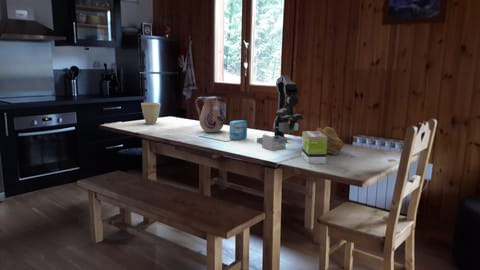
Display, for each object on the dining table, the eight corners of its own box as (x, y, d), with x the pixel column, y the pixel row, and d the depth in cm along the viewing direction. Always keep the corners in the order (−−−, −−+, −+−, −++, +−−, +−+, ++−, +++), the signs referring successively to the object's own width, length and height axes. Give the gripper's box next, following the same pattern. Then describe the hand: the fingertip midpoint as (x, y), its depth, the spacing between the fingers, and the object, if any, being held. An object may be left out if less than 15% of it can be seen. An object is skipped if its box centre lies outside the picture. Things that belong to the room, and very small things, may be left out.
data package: (233, 140, 251) (234, 122, 249) (229, 139, 254) (229, 121, 252) (246, 138, 259) (247, 120, 257) (242, 137, 262) (242, 119, 260)
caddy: (294, 129, 242) (294, 121, 242) (299, 130, 239) (299, 122, 238) (278, 130, 235) (278, 122, 234) (283, 132, 232) (283, 124, 231)
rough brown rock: (334, 160, 210) (339, 134, 207) (306, 153, 219) (310, 128, 216) (347, 153, 230) (351, 129, 227) (321, 147, 238) (325, 124, 235)
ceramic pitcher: (222, 134, 270) (223, 98, 265) (193, 133, 271) (193, 97, 266) (224, 129, 287) (225, 96, 283) (196, 128, 288) (196, 95, 283)
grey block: (276, 145, 239) (277, 133, 238) (286, 148, 232) (287, 135, 231) (262, 147, 233) (262, 134, 231) (271, 150, 226) (272, 137, 224)
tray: (277, 139, 257) (277, 135, 256) (287, 142, 249) (287, 138, 249) (256, 142, 247) (257, 138, 246) (266, 145, 239) (266, 140, 239)
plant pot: (147, 125, 295) (147, 105, 292) (138, 123, 306) (137, 103, 302) (164, 123, 305) (164, 104, 302) (154, 121, 316) (154, 102, 312)
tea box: (300, 156, 214) (302, 130, 211) (318, 156, 215) (319, 130, 212) (307, 163, 199) (309, 136, 196) (326, 163, 200) (328, 136, 197)
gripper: (269, 102, 236) (268, 127, 239) (290, 106, 221) (288, 132, 224) (283, 102, 243) (282, 126, 246) (304, 105, 228) (302, 131, 231)
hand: (288, 129), depth 236 cm, fingers closed on caddy, 4 cm apart
